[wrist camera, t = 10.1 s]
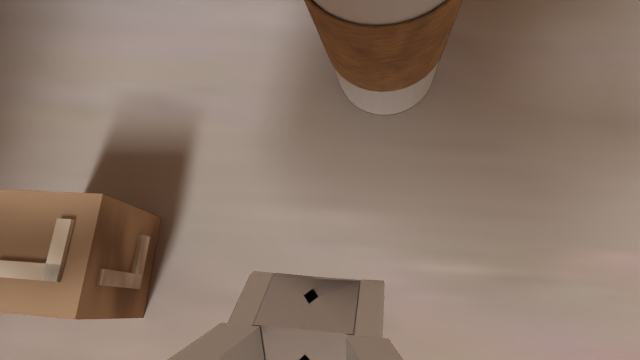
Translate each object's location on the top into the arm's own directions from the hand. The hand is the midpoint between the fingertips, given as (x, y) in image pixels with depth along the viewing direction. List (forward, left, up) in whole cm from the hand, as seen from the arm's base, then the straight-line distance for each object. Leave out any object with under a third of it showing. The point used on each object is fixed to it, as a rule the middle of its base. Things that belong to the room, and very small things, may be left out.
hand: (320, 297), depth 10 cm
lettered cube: (-6, +14, -15) cm, 22 cm away
